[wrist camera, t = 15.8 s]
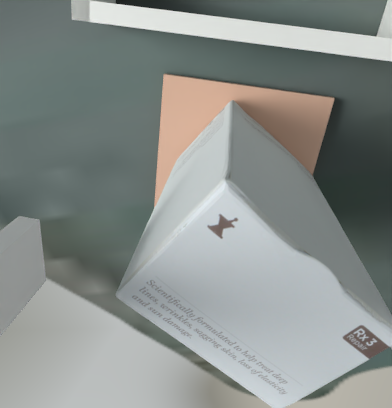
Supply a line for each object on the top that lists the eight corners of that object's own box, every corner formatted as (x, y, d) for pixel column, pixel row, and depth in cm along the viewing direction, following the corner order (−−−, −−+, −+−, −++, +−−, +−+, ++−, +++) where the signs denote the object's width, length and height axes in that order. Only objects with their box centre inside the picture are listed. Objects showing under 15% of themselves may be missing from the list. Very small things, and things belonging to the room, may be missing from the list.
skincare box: (177, 157, 25) (93, 293, 11) (236, 92, 22) (216, 170, 9) (260, 230, 26) (271, 424, 13) (323, 177, 24) (417, 350, 11)
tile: (165, 73, 23) (163, 74, 22) (332, 96, 22) (334, 98, 22) (155, 217, 28) (153, 220, 27) (291, 240, 27) (292, 244, 26)
